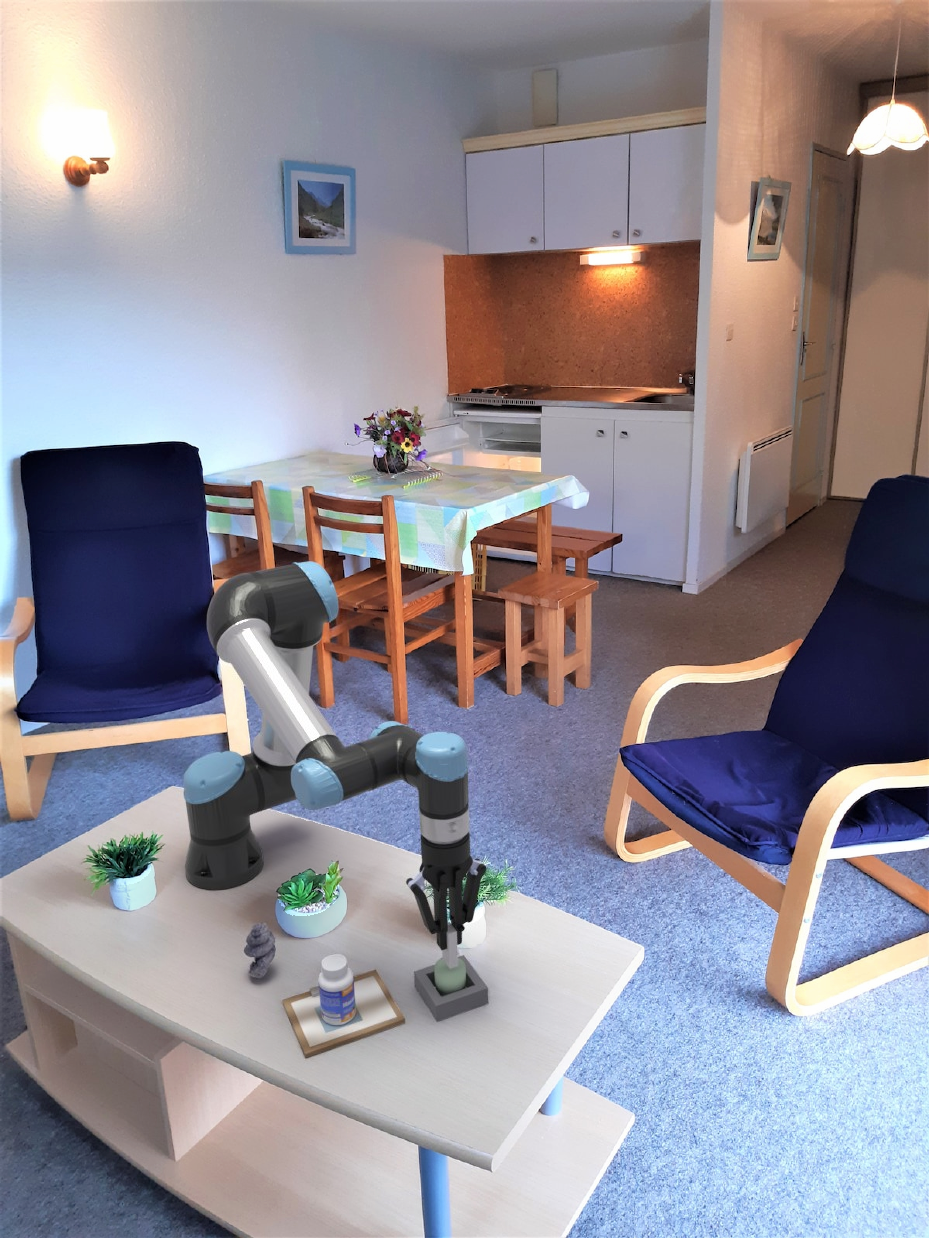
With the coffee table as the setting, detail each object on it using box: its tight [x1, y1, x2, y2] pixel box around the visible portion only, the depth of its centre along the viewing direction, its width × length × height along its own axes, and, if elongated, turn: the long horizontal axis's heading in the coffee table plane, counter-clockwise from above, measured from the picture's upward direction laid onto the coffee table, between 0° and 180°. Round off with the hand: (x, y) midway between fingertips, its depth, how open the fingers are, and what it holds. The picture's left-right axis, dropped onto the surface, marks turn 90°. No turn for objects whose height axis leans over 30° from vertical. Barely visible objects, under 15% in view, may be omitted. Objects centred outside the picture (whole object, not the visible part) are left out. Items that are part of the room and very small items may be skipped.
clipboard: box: [282, 969, 406, 1059], centre depth 150 cm, size 13×16×2 cm
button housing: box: [413, 954, 489, 1022], centre depth 153 cm, size 9×9×3 cm
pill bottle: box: [317, 953, 356, 1025], centre depth 147 cm, size 5×5×10 cm
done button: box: [434, 957, 467, 997], centre depth 153 cm, size 5×5×4 cm
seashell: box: [243, 922, 277, 980], centre depth 158 cm, size 5×5×10 cm
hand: (450, 962), depth 152 cm, fingers closed
